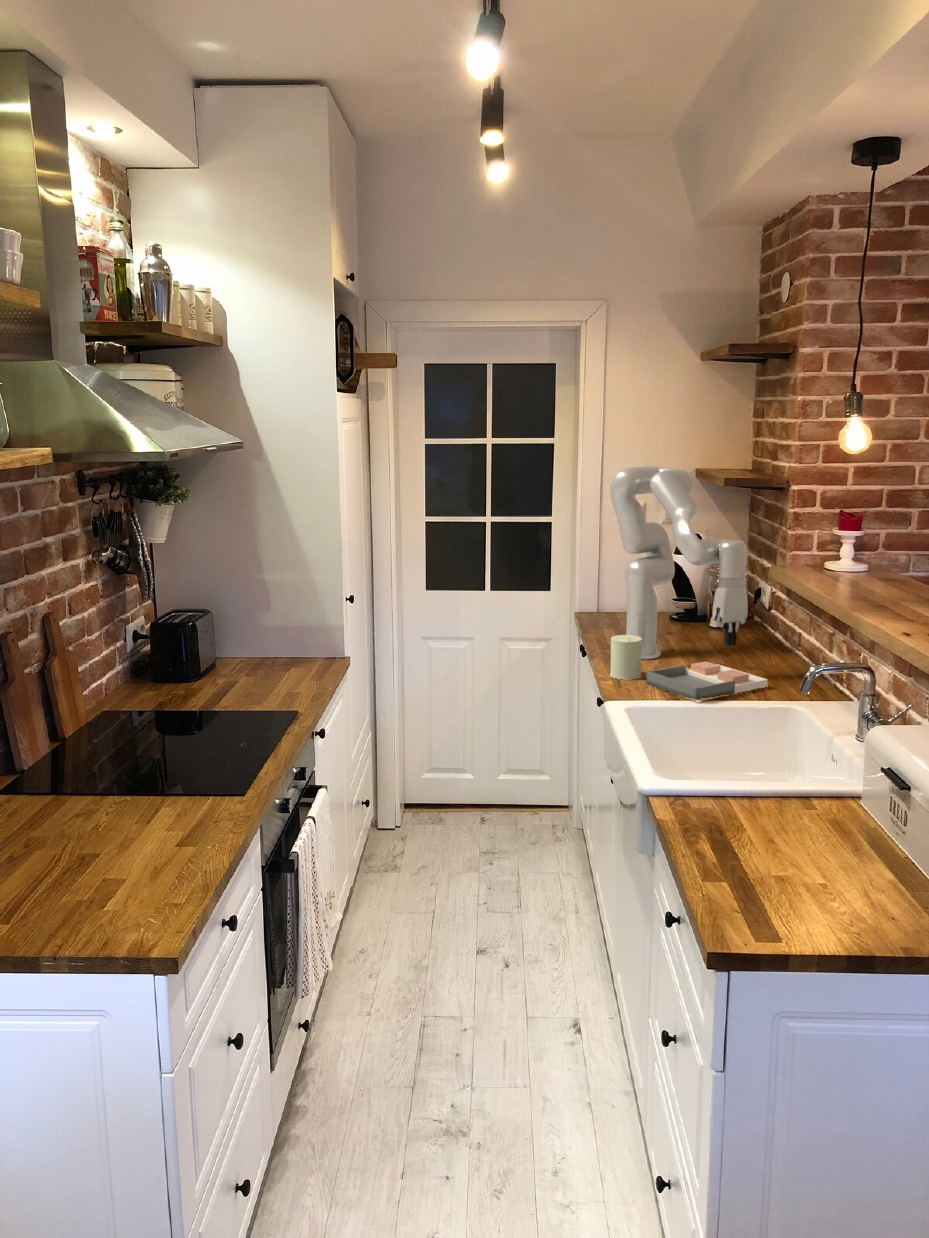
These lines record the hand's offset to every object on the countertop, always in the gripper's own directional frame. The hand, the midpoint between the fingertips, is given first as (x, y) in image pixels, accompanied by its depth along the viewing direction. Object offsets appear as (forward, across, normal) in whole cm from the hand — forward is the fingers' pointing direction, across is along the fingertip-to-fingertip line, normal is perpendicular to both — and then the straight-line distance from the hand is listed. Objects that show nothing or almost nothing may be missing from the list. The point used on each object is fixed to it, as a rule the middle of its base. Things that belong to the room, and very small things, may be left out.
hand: (730, 644), depth 286 cm
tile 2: (+7, +9, +10) cm, 15 cm away
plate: (+10, +6, +4) cm, 12 cm away
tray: (+10, +20, +4) cm, 22 cm away
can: (+9, +26, -16) cm, 32 cm away
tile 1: (+7, +9, -1) cm, 11 cm away
